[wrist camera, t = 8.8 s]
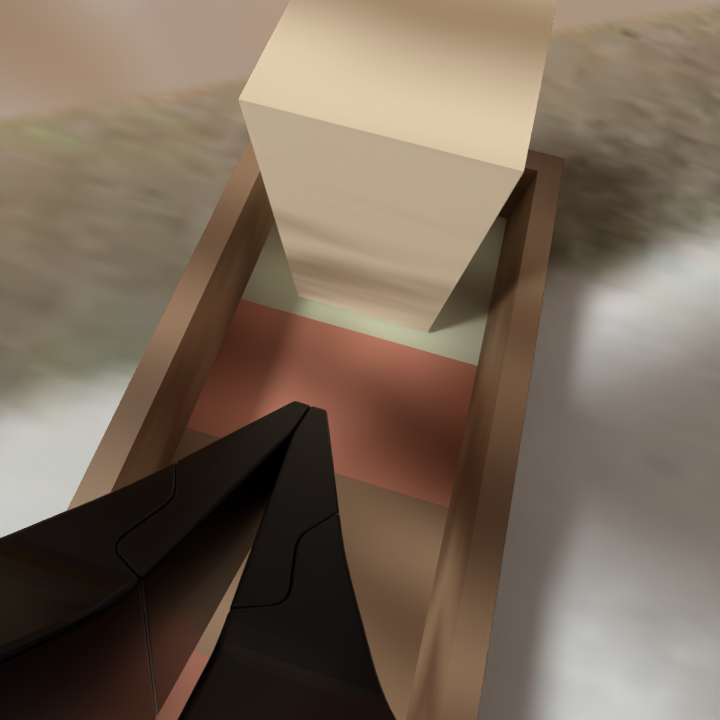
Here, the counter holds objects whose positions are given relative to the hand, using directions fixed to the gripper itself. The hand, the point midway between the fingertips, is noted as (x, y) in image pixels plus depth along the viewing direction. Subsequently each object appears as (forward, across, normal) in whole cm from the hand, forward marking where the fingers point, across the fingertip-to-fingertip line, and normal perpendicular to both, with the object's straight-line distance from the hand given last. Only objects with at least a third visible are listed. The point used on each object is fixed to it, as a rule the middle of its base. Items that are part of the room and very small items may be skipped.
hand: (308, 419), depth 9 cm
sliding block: (+10, 0, -3) cm, 11 cm away
